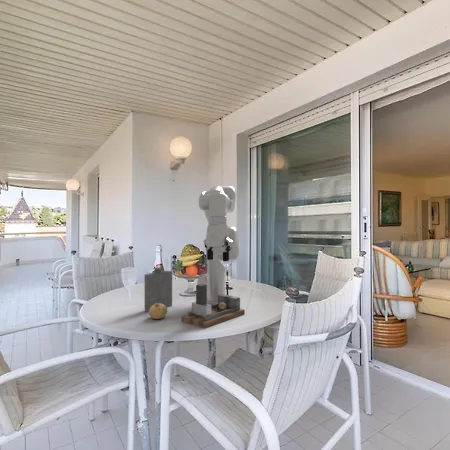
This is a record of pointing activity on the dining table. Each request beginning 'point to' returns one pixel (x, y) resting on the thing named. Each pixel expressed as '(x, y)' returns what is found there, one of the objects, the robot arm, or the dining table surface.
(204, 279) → the tea bag
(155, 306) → the onion
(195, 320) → the cracker base
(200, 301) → the jaw
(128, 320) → the dining table surface
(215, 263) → the robot arm
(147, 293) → the hip flask
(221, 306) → the beige round ball
